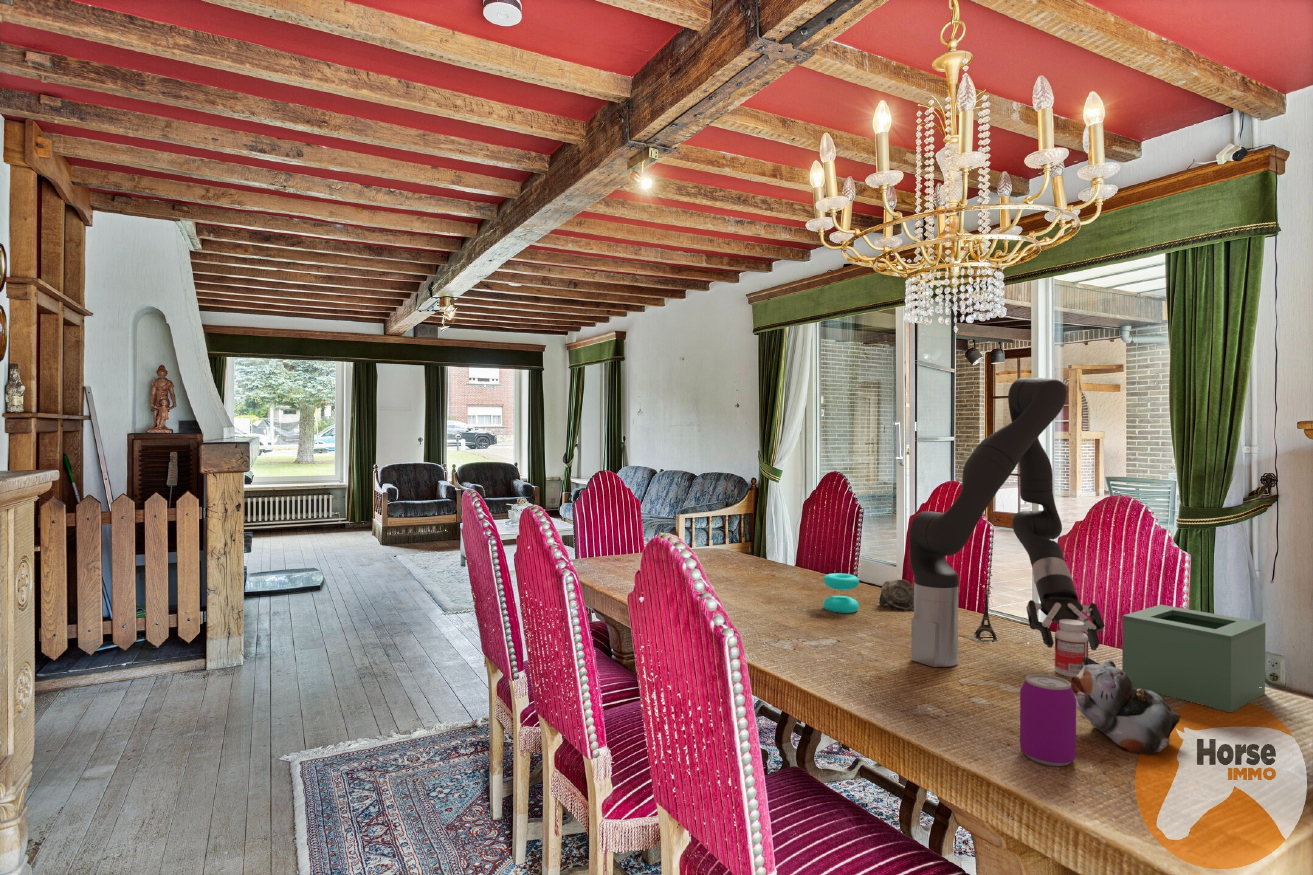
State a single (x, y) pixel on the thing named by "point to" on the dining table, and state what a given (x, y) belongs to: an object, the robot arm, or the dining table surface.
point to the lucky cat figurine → (1123, 708)
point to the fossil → (897, 595)
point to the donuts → (841, 602)
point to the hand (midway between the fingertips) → (1072, 647)
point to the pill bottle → (1070, 647)
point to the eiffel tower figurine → (984, 626)
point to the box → (1195, 656)
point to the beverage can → (1048, 720)
